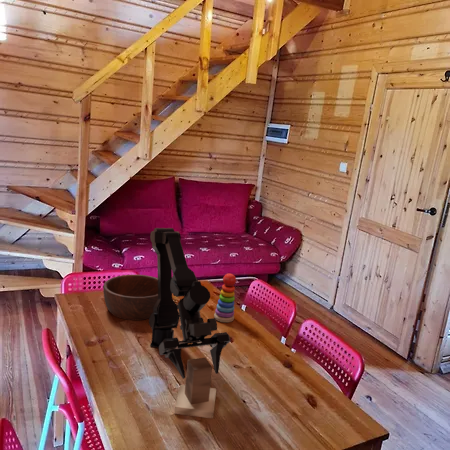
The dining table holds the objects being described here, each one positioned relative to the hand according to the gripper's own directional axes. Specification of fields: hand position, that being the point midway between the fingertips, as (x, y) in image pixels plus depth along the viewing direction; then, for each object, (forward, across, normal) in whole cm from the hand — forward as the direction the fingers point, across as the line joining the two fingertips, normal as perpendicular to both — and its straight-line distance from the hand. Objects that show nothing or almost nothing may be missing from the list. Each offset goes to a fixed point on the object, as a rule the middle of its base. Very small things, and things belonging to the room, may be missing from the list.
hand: (200, 375), depth 111 cm
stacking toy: (-27, +29, +41) cm, 57 cm away
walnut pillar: (+4, 0, +6) cm, 7 cm away
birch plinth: (+6, 0, +8) cm, 9 cm away
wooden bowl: (-38, -3, +52) cm, 64 cm away
